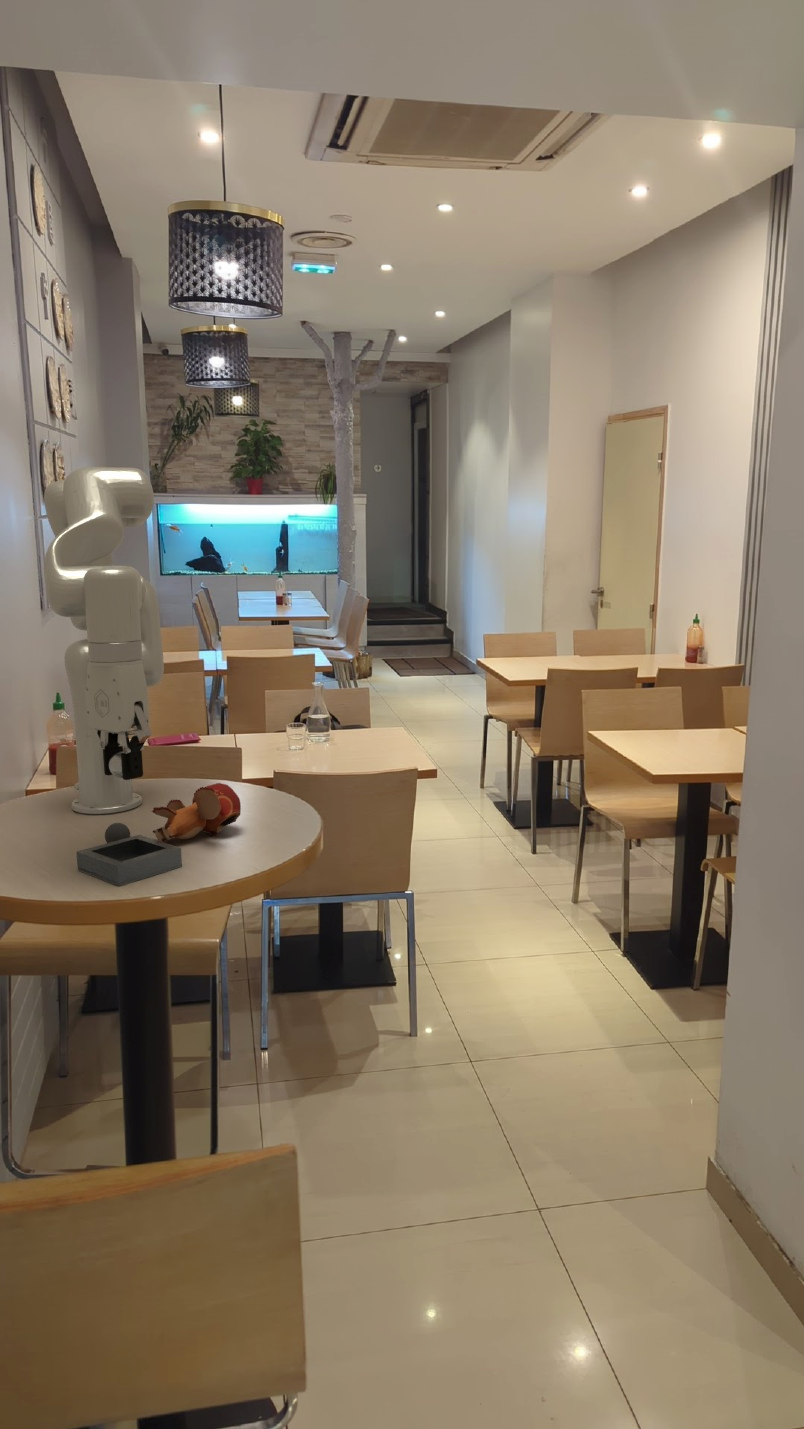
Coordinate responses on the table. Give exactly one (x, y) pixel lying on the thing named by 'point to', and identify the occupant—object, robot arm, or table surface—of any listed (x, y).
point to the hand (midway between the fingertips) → (123, 774)
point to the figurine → (199, 813)
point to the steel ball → (116, 765)
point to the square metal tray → (129, 859)
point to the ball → (116, 832)
